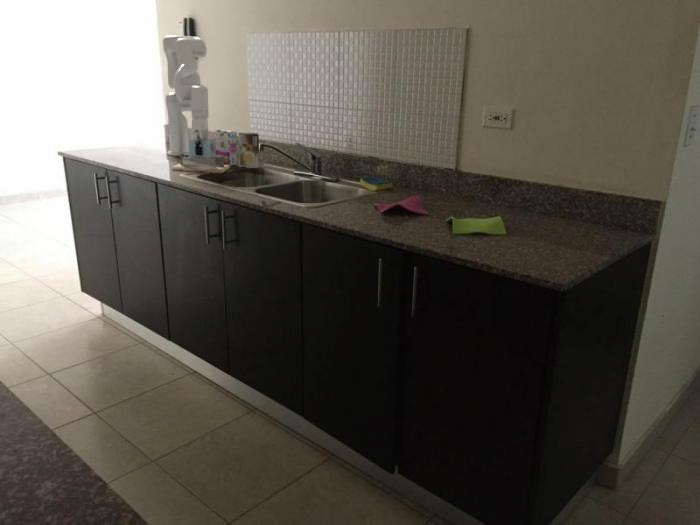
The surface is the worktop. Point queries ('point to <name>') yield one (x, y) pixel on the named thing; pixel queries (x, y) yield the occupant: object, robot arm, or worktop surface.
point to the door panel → (206, 148)
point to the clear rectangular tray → (202, 164)
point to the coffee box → (249, 150)
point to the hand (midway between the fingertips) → (201, 153)
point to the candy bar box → (227, 146)
